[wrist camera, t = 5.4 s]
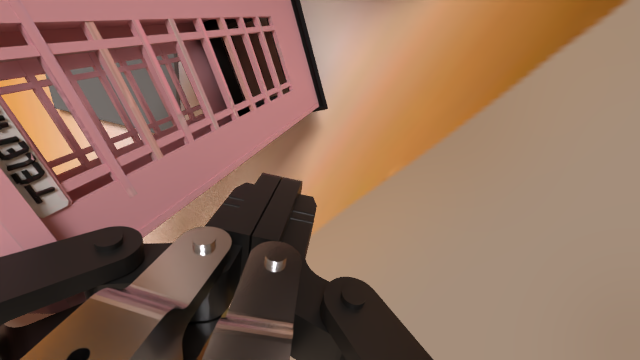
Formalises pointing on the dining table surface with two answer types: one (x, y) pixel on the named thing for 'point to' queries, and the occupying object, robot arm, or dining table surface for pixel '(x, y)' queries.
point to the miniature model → (153, 150)
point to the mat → (104, 104)
